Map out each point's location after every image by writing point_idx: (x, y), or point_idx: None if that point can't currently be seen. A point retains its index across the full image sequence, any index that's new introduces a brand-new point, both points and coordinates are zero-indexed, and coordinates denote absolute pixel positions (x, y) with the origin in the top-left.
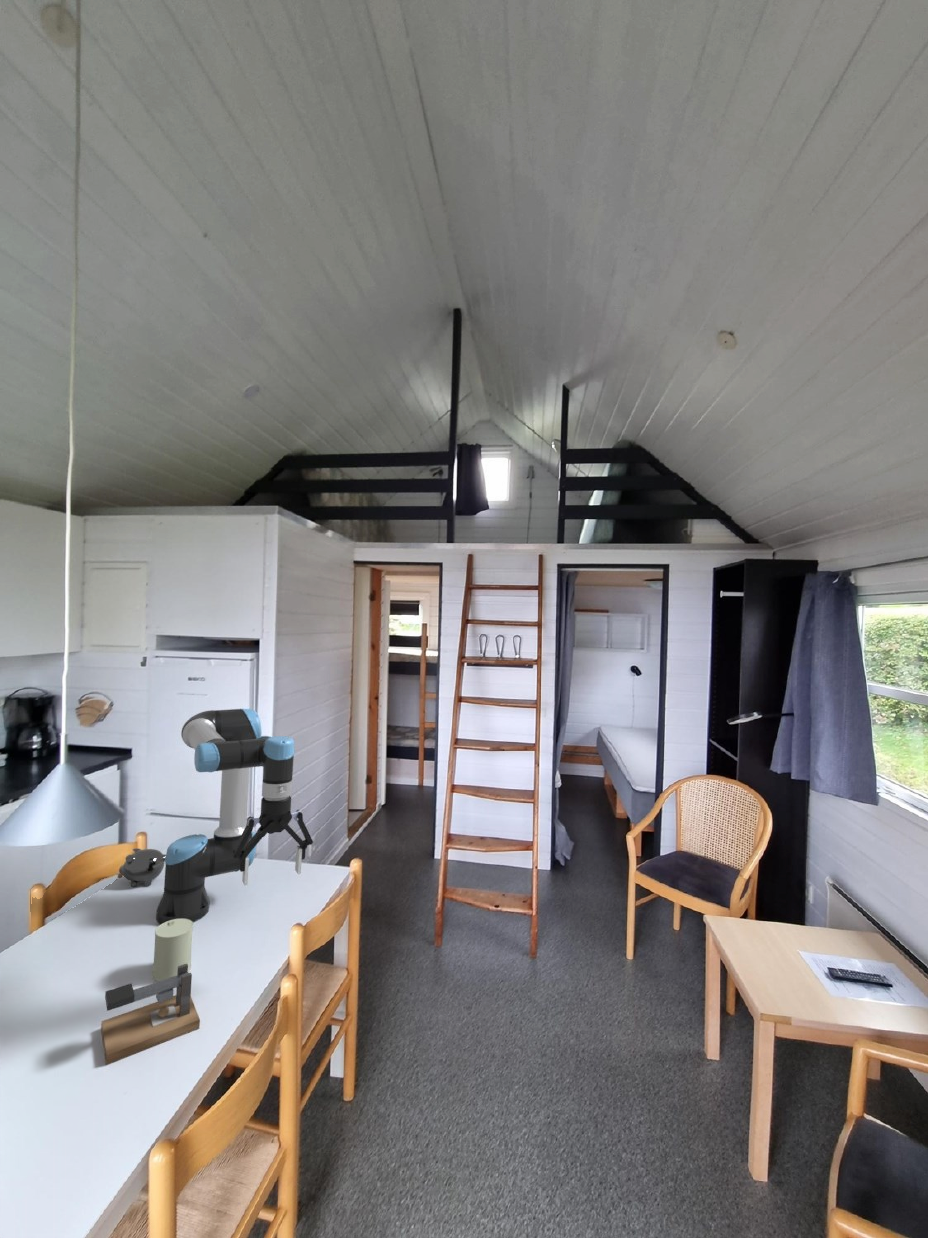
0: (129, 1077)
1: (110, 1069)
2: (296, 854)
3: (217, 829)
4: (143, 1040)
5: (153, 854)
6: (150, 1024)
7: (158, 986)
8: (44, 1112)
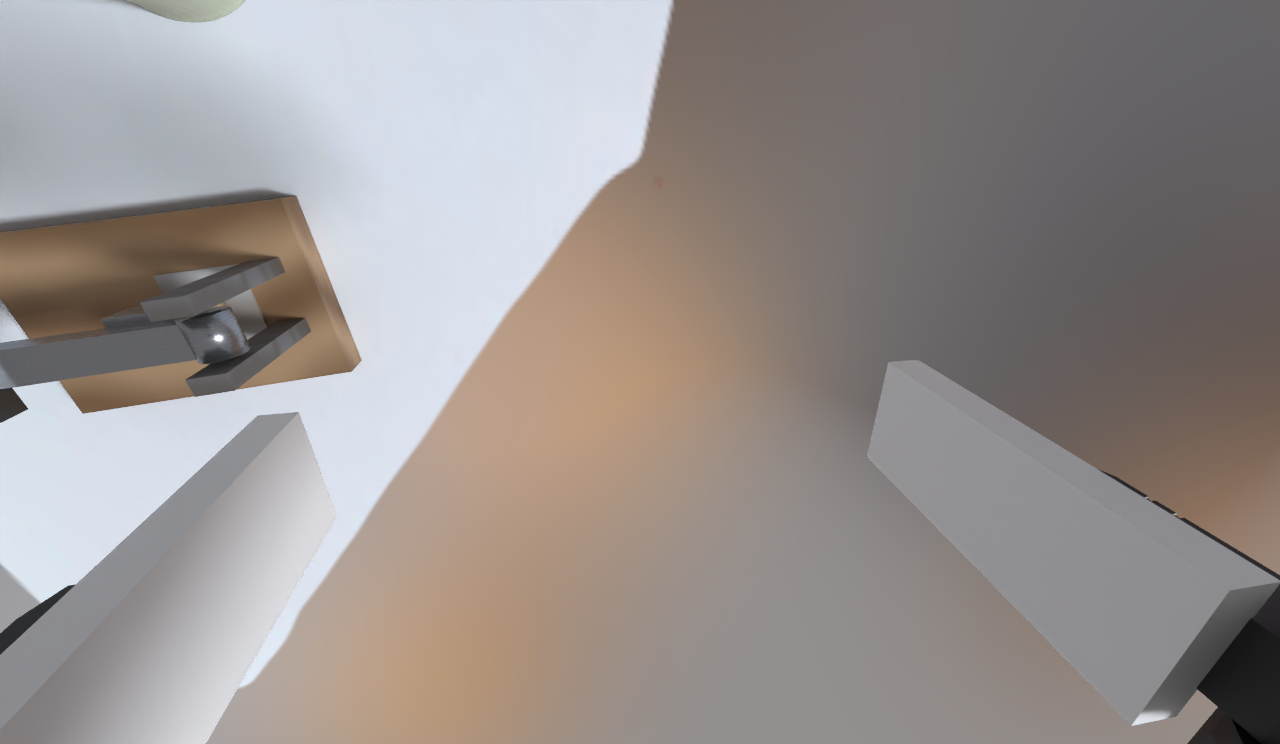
0: (200, 459)
1: (129, 417)
2: (1052, 502)
3: None
4: (183, 395)
5: None
6: None
7: (99, 373)
8: (9, 490)
